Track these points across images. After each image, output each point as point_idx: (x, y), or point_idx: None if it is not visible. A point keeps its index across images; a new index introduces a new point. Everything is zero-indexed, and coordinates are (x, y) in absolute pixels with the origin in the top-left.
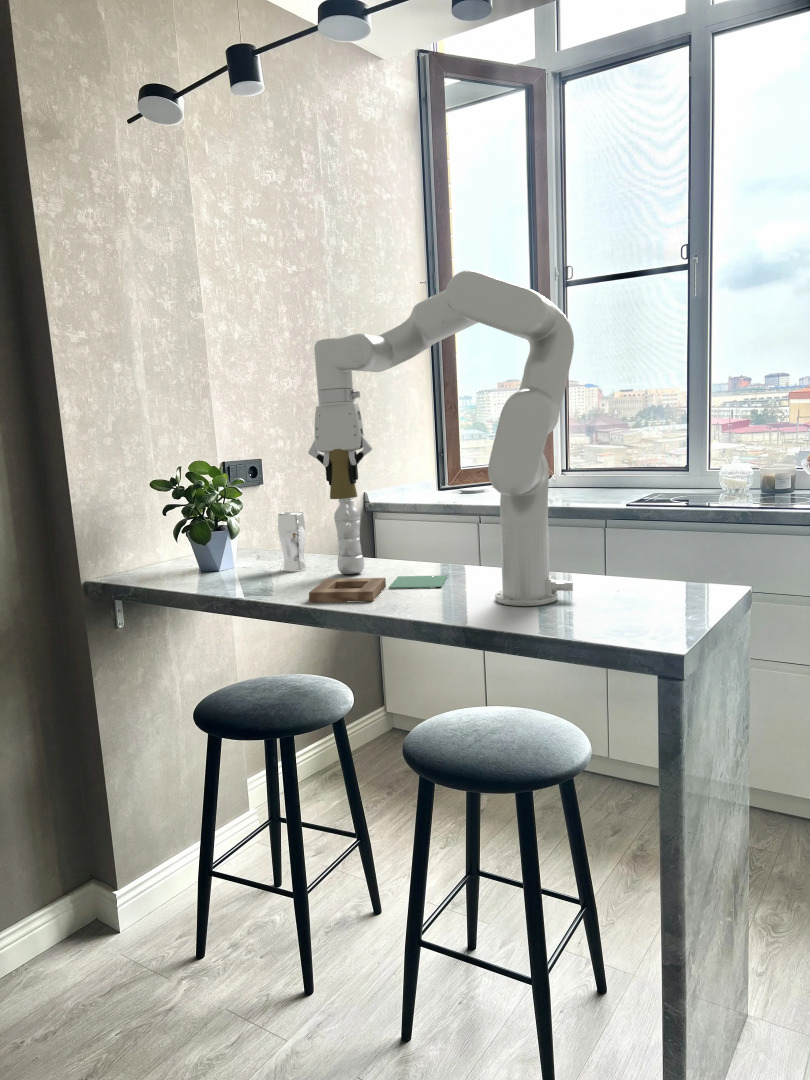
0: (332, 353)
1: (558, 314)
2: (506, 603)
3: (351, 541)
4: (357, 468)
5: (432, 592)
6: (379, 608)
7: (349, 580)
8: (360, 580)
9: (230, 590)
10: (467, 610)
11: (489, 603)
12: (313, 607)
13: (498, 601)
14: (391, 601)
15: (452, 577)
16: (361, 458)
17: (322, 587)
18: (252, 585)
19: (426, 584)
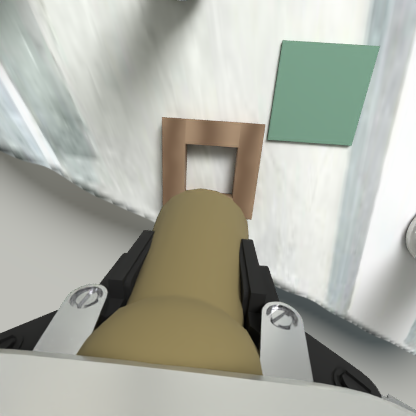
0: None
1: None
2: (412, 255)
3: None
4: (277, 298)
5: (332, 171)
6: (259, 245)
7: (205, 138)
8: (224, 140)
9: (9, 110)
10: (360, 266)
11: (394, 240)
12: None
13: (406, 244)
14: (273, 214)
15: (386, 51)
16: (331, 361)
17: (173, 183)
18: (25, 72)
19: (329, 127)
